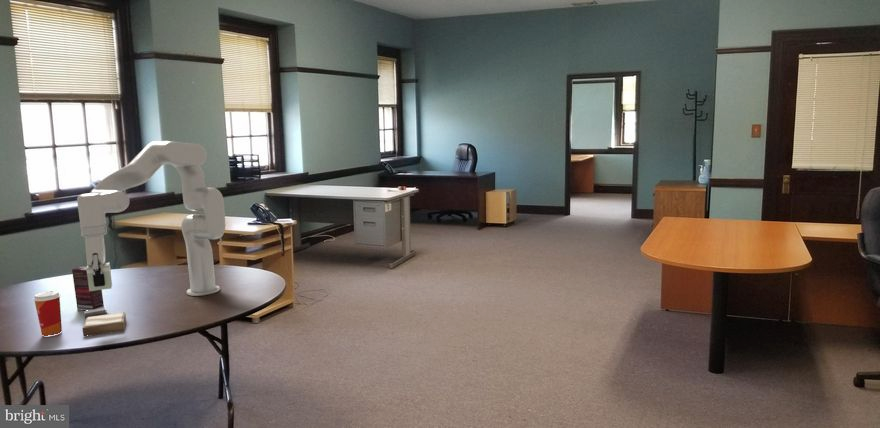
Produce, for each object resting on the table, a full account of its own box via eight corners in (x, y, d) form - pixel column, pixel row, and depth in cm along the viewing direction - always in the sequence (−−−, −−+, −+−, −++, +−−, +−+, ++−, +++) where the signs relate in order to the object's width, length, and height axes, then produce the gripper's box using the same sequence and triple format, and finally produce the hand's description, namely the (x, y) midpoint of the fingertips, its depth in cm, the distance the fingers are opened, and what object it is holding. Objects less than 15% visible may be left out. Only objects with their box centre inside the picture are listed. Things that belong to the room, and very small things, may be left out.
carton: (90, 287, 214) (87, 264, 212) (112, 285, 216) (109, 262, 215) (89, 291, 209) (86, 267, 208) (111, 288, 212) (108, 265, 211)
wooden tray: (87, 325, 218) (86, 316, 218) (126, 320, 223) (125, 311, 222) (83, 336, 207) (82, 327, 207) (124, 330, 212) (123, 321, 211)
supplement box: (104, 308, 239) (99, 267, 236) (94, 311, 234) (88, 270, 231) (87, 306, 241) (82, 265, 239) (76, 310, 237) (71, 269, 234)
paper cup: (46, 331, 214) (40, 291, 212) (69, 329, 215) (64, 289, 212) (33, 339, 206) (27, 297, 204) (58, 337, 207) (52, 296, 205)
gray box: (84, 321, 223) (83, 310, 223) (107, 317, 227) (105, 307, 227) (85, 324, 220) (84, 313, 219) (108, 320, 224) (106, 309, 223)
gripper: (84, 228, 216) (90, 280, 219) (78, 236, 201) (85, 291, 203) (108, 225, 219) (114, 277, 222) (104, 233, 204) (111, 288, 206)
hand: (100, 283), depth 213 cm, fingers closed on carton, 4 cm apart
